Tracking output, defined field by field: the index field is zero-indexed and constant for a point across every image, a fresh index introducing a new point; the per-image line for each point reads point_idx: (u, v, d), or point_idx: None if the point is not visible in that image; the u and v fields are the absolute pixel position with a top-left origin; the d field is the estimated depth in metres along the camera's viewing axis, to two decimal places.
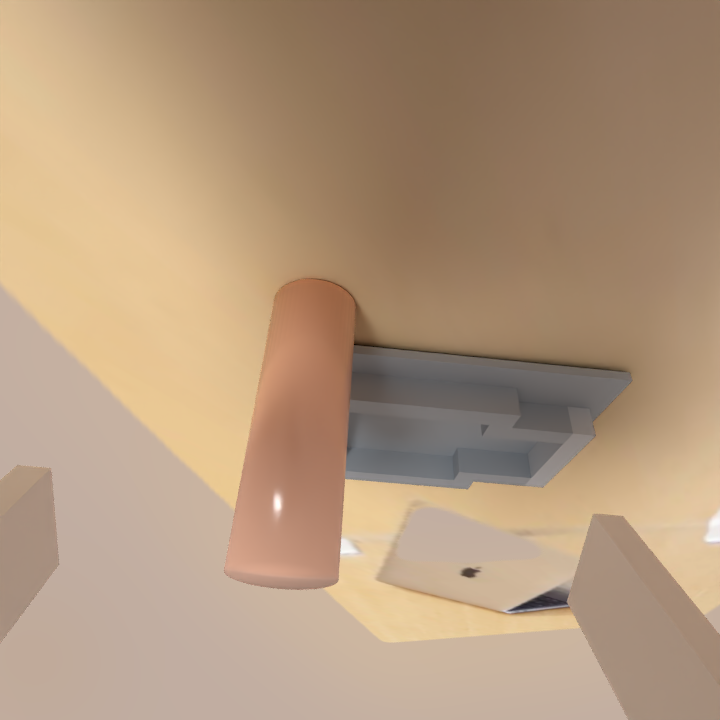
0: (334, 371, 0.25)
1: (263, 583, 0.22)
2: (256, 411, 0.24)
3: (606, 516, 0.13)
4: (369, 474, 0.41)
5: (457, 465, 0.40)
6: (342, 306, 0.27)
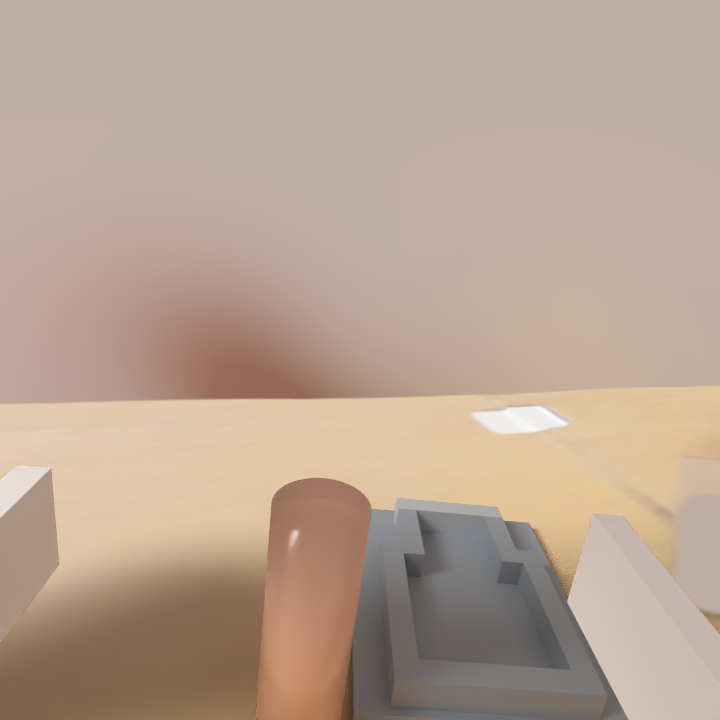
0: None
1: (355, 518, 0.23)
2: (282, 653, 0.24)
3: (607, 516, 0.13)
4: (559, 635, 0.33)
5: (505, 569, 0.40)
6: None
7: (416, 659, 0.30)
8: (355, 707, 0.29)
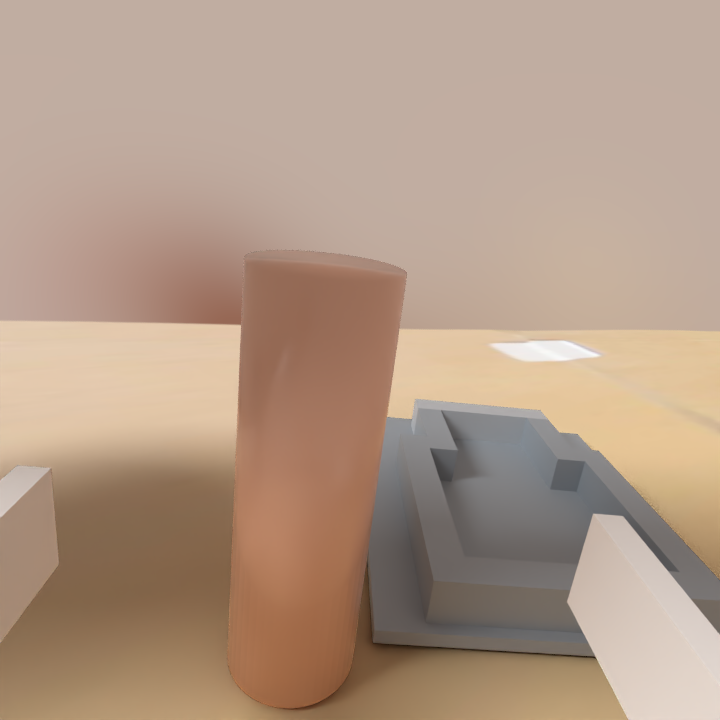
0: None
1: (382, 274, 0.14)
2: (265, 507, 0.15)
3: (606, 515, 0.13)
4: (652, 534, 0.24)
5: (561, 470, 0.30)
6: None
7: (461, 557, 0.21)
8: (376, 623, 0.20)
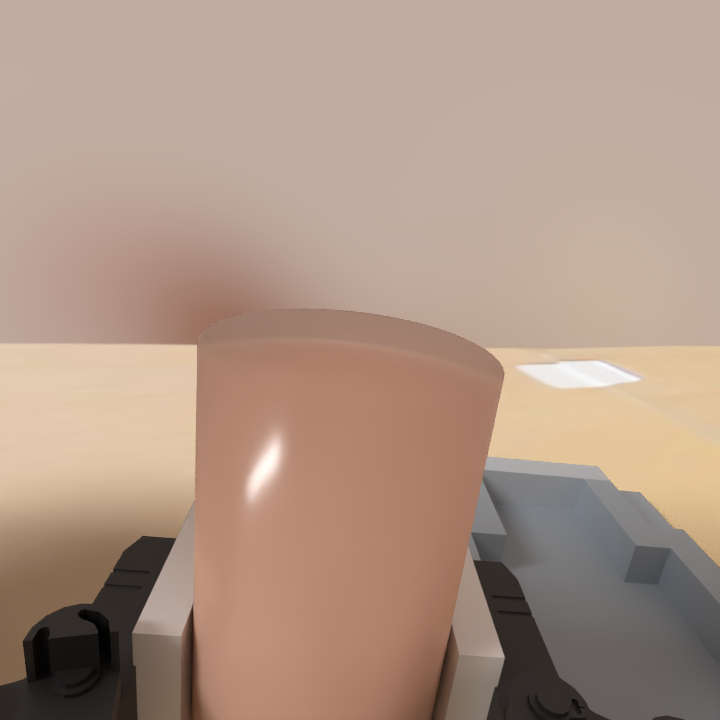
0: None
1: (460, 374, 0.07)
2: None
3: None
4: None
5: (640, 559, 0.24)
6: None
7: None
8: None
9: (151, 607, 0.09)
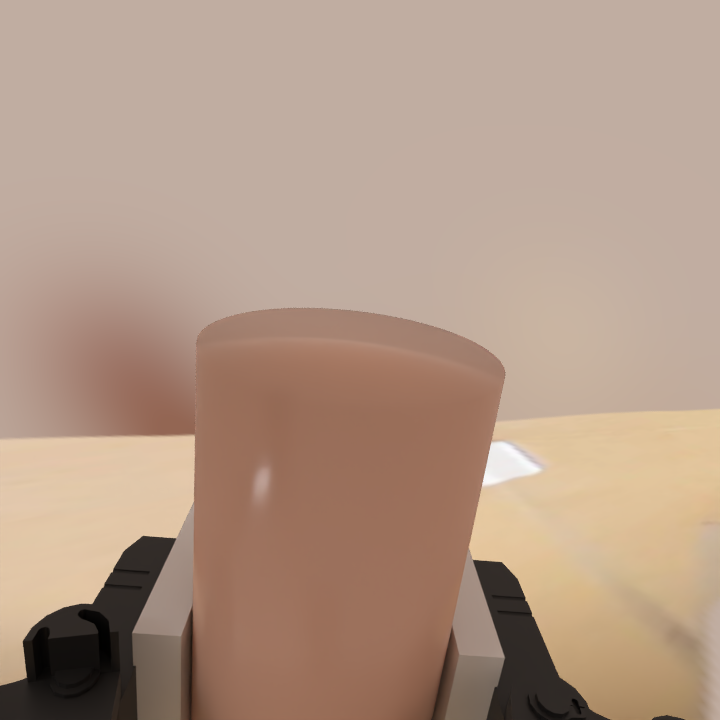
0: None
1: (461, 373, 0.07)
2: None
3: None
4: None
5: None
6: None
7: None
8: None
9: (151, 607, 0.09)
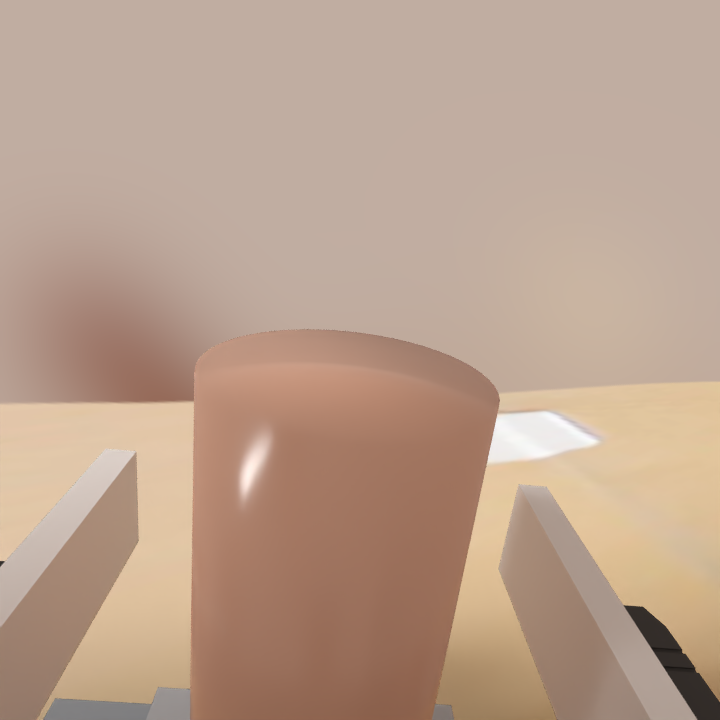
0: None
1: (456, 401, 0.07)
2: None
3: (531, 486, 0.14)
4: None
5: None
6: None
7: None
8: None
9: None
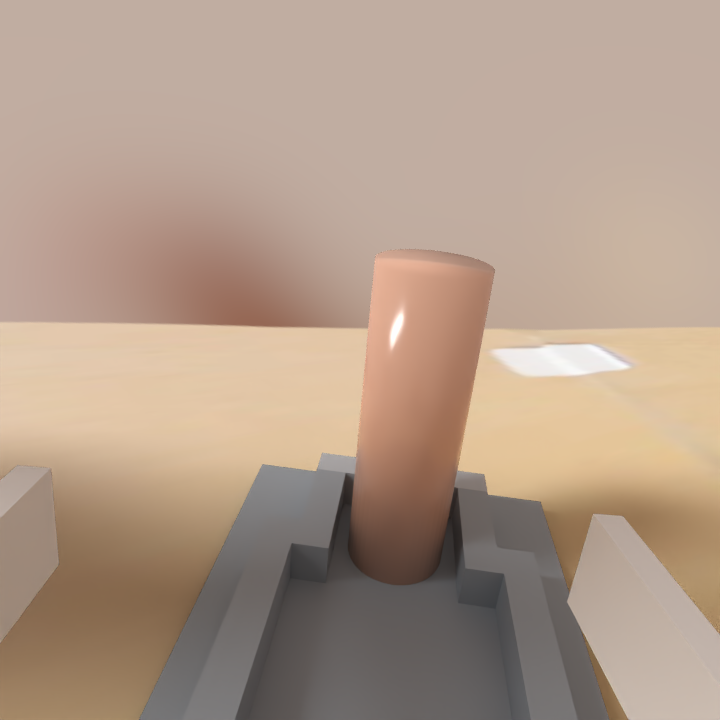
0: None
1: (476, 272, 0.19)
2: (385, 437, 0.21)
3: (607, 516, 0.13)
4: None
5: (472, 581, 0.22)
6: None
7: None
8: None
9: None
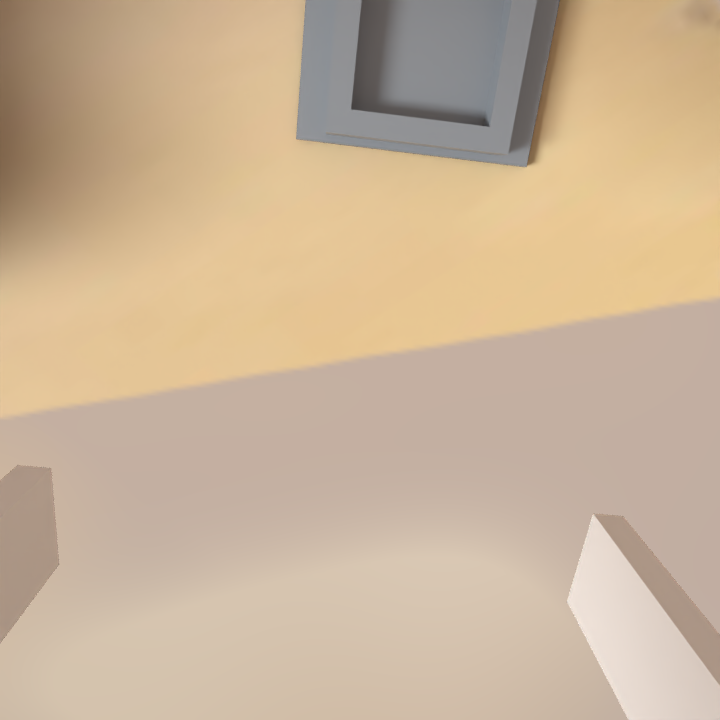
0: None
1: None
2: None
3: (607, 516, 0.13)
4: (501, 85, 0.33)
5: None
6: None
7: (348, 109, 0.34)
8: (297, 133, 0.36)
9: None
